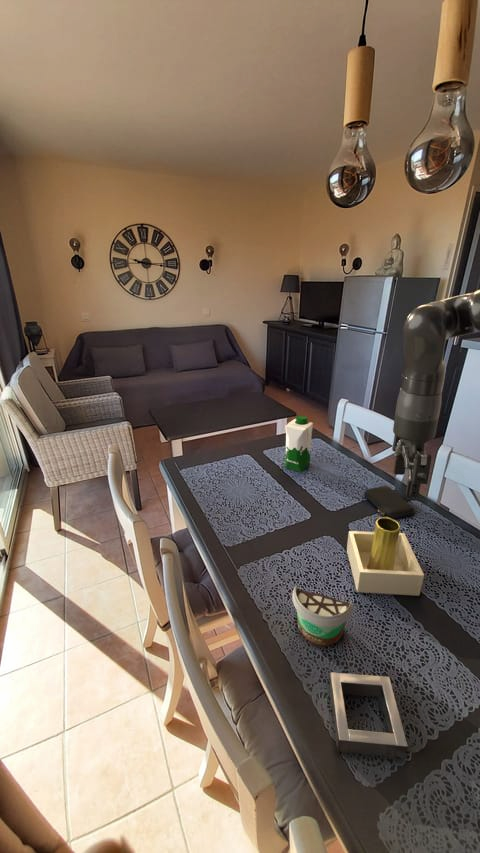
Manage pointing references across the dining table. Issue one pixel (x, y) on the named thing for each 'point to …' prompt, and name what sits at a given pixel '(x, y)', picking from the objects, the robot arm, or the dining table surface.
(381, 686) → the grey square frame
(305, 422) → the milk carton
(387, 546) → the vase
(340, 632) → the food container
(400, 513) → the carrying case
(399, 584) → the cream wooden open box
